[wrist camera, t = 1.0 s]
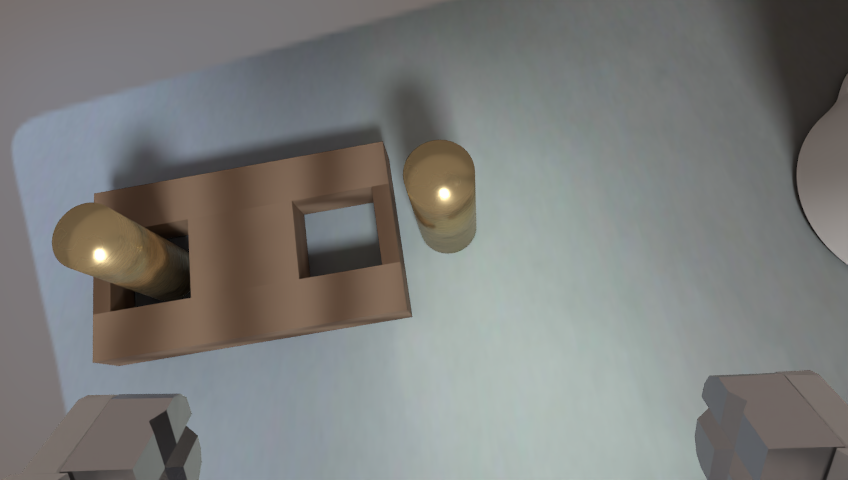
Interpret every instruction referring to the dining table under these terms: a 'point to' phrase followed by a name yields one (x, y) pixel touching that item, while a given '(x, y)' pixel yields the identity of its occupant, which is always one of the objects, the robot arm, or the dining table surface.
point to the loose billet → (442, 194)
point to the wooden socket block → (254, 257)
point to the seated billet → (121, 252)
